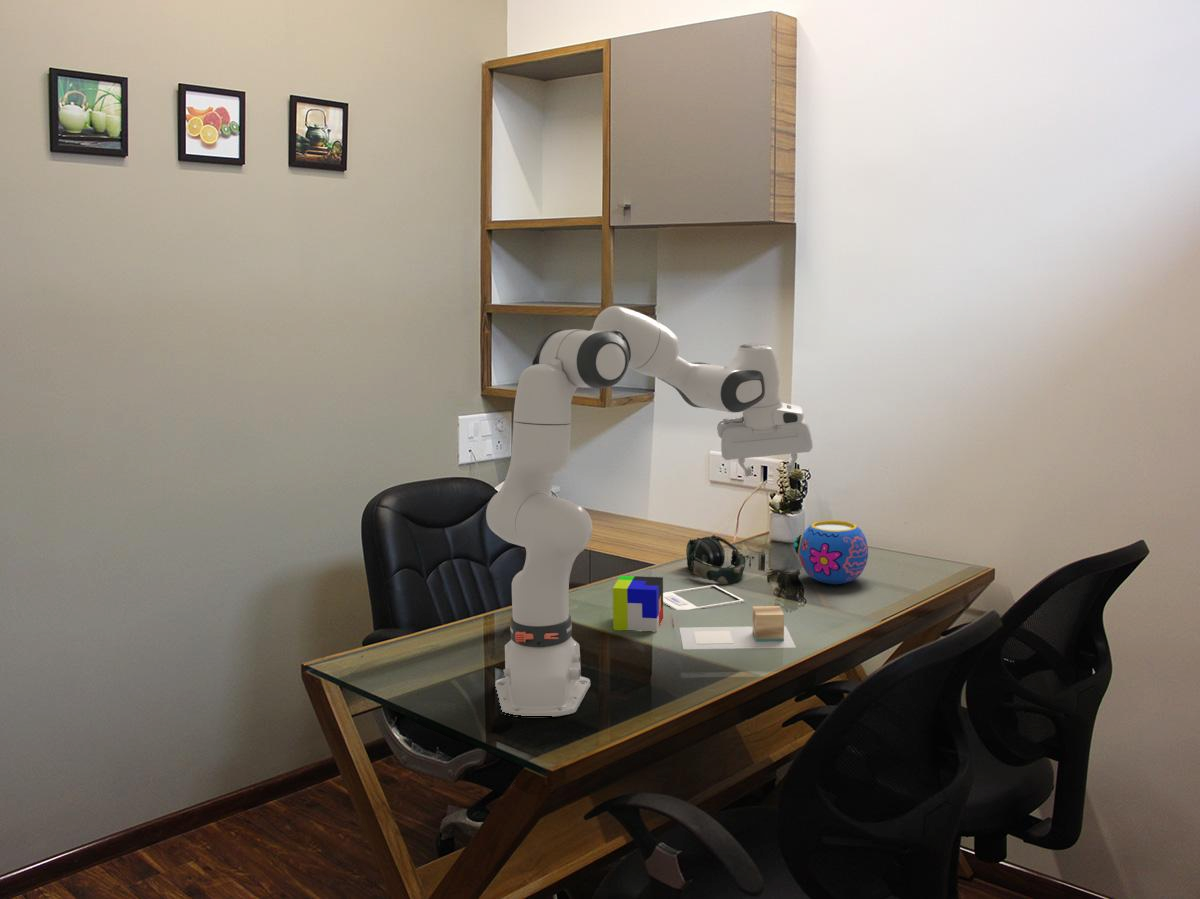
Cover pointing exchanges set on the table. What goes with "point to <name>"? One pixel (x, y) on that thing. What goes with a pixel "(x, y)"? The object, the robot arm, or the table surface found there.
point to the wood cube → (768, 623)
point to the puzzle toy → (638, 603)
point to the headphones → (714, 560)
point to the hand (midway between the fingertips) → (769, 473)
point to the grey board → (728, 638)
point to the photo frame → (682, 604)
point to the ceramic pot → (832, 551)
